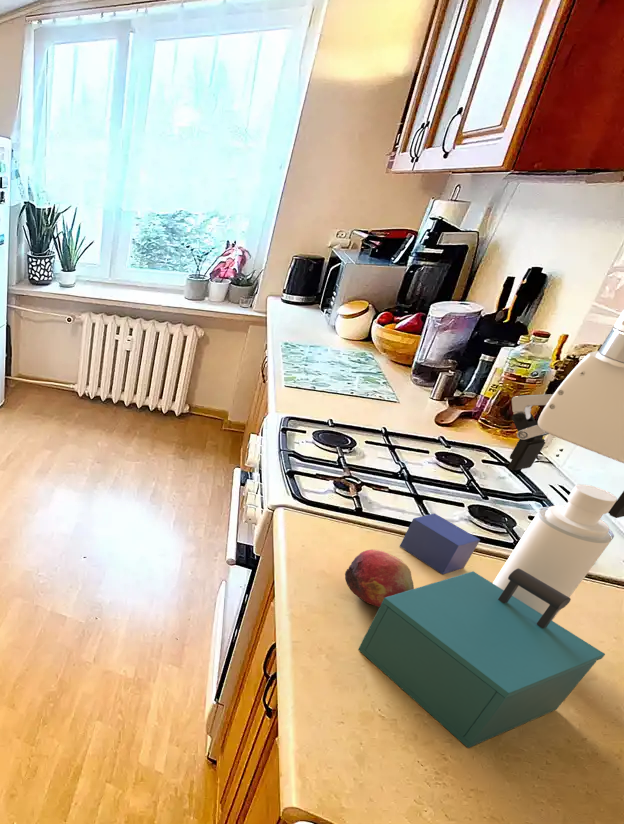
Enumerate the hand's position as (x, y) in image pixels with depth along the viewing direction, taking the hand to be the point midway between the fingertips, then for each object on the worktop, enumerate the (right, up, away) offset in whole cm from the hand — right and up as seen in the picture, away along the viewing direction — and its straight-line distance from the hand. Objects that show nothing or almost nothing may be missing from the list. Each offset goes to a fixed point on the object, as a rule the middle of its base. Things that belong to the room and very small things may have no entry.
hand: (565, 489), depth 61 cm
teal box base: (-9, -25, +5) cm, 27 cm away
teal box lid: (-8, -17, +1) cm, 19 cm away
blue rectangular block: (+6, -15, +25) cm, 30 cm away
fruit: (-11, -19, +17) cm, 28 cm away
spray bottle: (+5, -22, +13) cm, 26 cm away
